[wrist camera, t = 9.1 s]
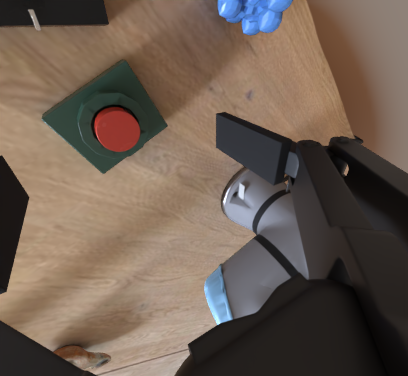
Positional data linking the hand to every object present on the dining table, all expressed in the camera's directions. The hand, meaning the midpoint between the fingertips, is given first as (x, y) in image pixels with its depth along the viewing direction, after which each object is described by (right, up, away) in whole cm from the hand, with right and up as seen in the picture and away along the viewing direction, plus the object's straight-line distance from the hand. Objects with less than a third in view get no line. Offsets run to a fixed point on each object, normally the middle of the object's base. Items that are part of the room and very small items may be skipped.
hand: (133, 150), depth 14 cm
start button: (-6, +5, +11) cm, 13 cm away
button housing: (-7, +6, +13) cm, 16 cm away
